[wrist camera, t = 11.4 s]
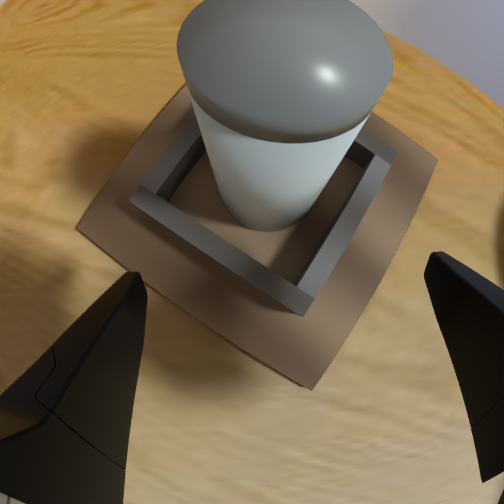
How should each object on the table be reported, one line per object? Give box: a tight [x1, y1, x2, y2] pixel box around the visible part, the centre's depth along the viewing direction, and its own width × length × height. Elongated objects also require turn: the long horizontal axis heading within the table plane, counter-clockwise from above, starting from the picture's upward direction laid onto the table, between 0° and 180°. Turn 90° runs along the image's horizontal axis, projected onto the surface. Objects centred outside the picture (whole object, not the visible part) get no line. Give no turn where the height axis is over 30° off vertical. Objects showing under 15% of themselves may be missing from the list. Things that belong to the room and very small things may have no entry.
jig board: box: [77, 85, 438, 391], centre depth 16 cm, size 16×16×3 cm
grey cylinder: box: [177, 0, 393, 232], centre depth 12 cm, size 5×5×11 cm
